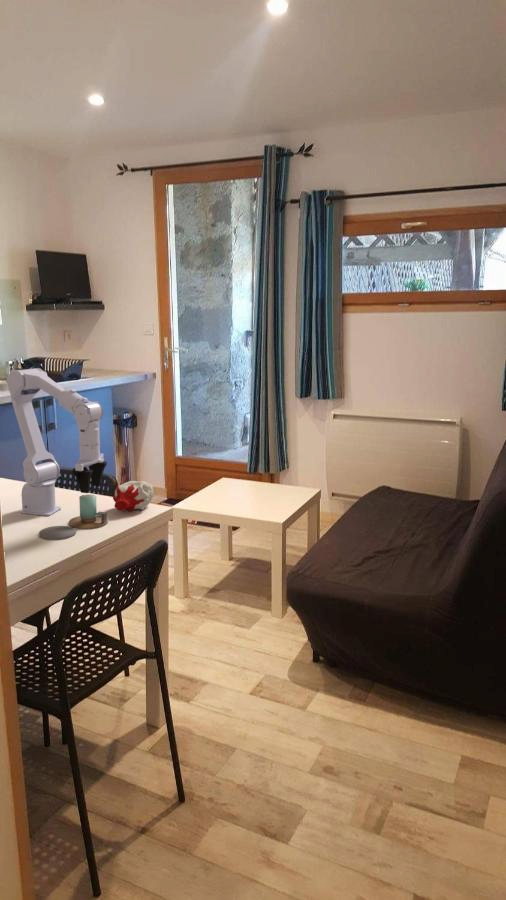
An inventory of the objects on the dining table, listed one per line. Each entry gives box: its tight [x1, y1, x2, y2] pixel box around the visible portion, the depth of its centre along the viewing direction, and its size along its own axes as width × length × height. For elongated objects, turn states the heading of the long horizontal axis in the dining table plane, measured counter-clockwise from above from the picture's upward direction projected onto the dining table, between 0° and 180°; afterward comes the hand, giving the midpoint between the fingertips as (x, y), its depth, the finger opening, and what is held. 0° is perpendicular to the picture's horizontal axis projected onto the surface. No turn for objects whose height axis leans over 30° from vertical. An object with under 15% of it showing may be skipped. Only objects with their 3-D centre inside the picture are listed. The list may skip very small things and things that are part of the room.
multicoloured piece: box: [112, 480, 155, 512], centre depth 205 cm, size 9×11×15 cm
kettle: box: [78, 494, 101, 519], centre depth 192 cm, size 6×5×6 cm
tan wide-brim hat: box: [68, 511, 109, 530], centre depth 193 cm, size 11×11×4 cm
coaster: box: [38, 525, 77, 541], centre depth 184 cm, size 10×10×1 cm
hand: (90, 489), depth 192 cm, fingers open, 7 cm apart
